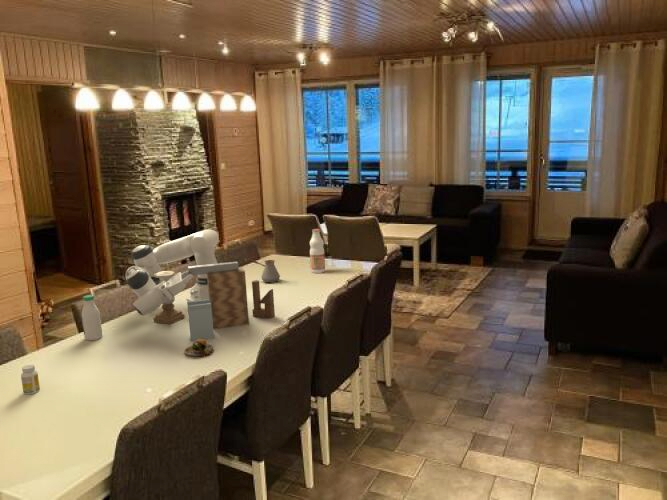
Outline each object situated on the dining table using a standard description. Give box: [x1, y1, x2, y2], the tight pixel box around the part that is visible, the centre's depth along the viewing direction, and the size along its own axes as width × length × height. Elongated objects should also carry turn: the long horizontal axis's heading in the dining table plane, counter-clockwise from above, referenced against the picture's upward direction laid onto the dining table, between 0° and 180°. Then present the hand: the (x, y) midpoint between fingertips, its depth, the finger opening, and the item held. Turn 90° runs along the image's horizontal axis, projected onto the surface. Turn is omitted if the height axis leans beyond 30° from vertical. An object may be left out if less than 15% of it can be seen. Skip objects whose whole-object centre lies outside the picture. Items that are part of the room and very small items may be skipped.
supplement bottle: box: [20, 364, 41, 396], centre depth 205 cm, size 5×5×10 cm
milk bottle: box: [81, 294, 103, 341], centre depth 258 cm, size 8×8×20 cm
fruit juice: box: [309, 228, 326, 274], centre depth 366 cm, size 9×9×28 cm
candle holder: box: [152, 270, 186, 325], centre depth 280 cm, size 11×11×24 cm
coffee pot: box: [244, 257, 281, 283], centre depth 349 cm, size 21×12×15 cm, turn 81°
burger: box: [184, 335, 215, 358], centre depth 236 cm, size 12×12×8 cm
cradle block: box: [186, 299, 215, 342], centre depth 254 cm, size 10×8×16 cm
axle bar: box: [187, 261, 240, 276], centre depth 265 cm, size 23×4×4 cm, turn 106°
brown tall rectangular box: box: [207, 266, 250, 330], centre depth 270 cm, size 17×10×26 cm, turn 106°
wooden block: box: [251, 279, 276, 319], centre depth 279 cm, size 4×11×18 cm, turn 67°
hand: (191, 273), depth 263 cm, fingers open, 8 cm apart
